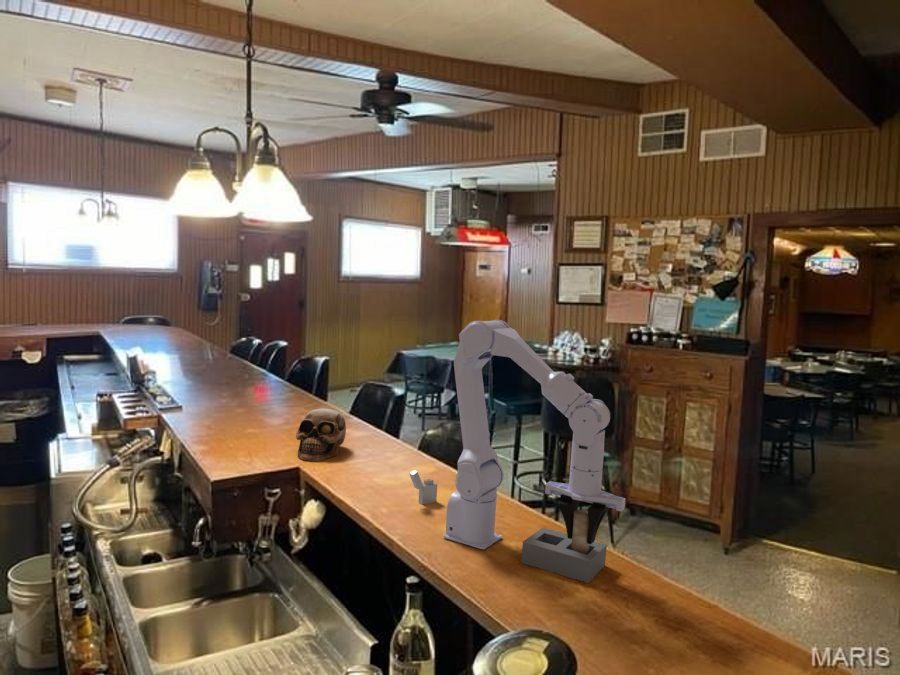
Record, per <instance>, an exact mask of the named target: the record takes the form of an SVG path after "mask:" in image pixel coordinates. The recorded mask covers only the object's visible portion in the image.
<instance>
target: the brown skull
mask: <svg viewBox="0 0 900 675" xmlns="http://www.w3.org/2000/svg"><path fill="white" fill-rule="evenodd" d="M346 425H347V424H346V419H345V417H344V415H343V414H342V413H341V412H340V411H337V410H335V409H331V408H317V409H316V408H315V409H313V410H309V411H308V412H307V413H306V415H305V417H304V418H303V420H302V421H301V422H300V425H299V427H298V428H297V431H296V434H295V439H296V440H297V441H299V447H298V450H297V458H298V459H300V460H301V461H305V462H321V461H324V460H327V459H331V458H332V457H337V455H338V453H339V451H340V447H341V446H342V445H343V444H344V443H345V442H344V441H345V439H346V430H347V426H346Z"/></svg>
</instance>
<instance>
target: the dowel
mask: <svg viewBox="0 0 900 675" xmlns="http://www.w3.org/2000/svg"><path fill="white" fill-rule="evenodd" d="M588 527H589V522H588V510H585V509H578V510H575V511H574V518H573V532H572V546H571V550H573V551H576V552H580V553H584V554H588V553H589V544H587V536H588Z"/></svg>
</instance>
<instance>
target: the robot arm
mask: <svg viewBox="0 0 900 675" xmlns="http://www.w3.org/2000/svg"><path fill="white" fill-rule="evenodd" d="M458 336H459V337H458V338H459V344H458V347H457V349H456V352H455V355H454V356H455V357H454V359H453V369H454V378H455V386H456V395H457V405H458V413H459V421H460V422H459V423H460V431H461V432H460V433H461V439H462V448H463V449H462V452H461V455H460V456H459V458H458V460H457V474H456V476H455V480H454V481H455V482H454V483H455V488H456V490H455V491H453V492H452V493H451V495H450V496H449V498H448V501H447V506H446V519H445V520H446V522H445V533H444V534H443V536H442V537H443V538H444V539H447V540H450V541H453V542H456V543H459V544H463V545H466V546H470V547H472V548H473V547H474V548H475V549H480V550H486V549H487V548H489V547H490V546H491V545H493V544H494V543H496V542H498V541H499V540H500V539H502V538H503V535H502V534H500V533H496V532H495V531H496V530H495V529H496V515H497V514H496V511H497V497H498V493H497V492H498V488H499V487H500V486H501V485H502V484H503V482H504V477H505V476H504V470H503V468H502V466H501V464H500V462H499V460H498V453H497V452H496V450H495V449H494V448H493V447H492V446H491V441H490V440H491V439H490V429H489V421H488V414H487V405H486V404H487V403H486V396H485V386H484V380H483V378H484V377H483V368H484V366H485V365H486V364H487V363H488V362H489V361H490V359H492V358H493V356H498V357H505V358H510V359H511V360H512V361H513V362H514V363H516V365H518V366H519V367H521V369H523V371H525V372H526V373H527V374H528V375H530V376H531V378H533V379H534V380H535V381H536V382H538V383H539V384H540V386H541V388H540V389H541V395H542V396H544V397H545V398H546V399H547V401H549V402H550V403H551V404H552V405H553V406H554V407H555V408H556V409H557V411H559V412H560V413H561V414H562V415H563V416H565V417H566V418H567V419H568V424H569V427H570V429H571V431H572V441H571V455H570V465H569V466H570V469H569V478H568V480H569V481H568V483H563V482H556V481H552V480H550V481H548V482H546V483H545V488H544V489H545V490H544V492H545V493H544V494H545V495H556V496H559V500H557V506H558V508H559V510H560V512H561V515H562V517H563V521H564V525H565V529H566V534H567V537H568V538H569V539H572V532H573V518H574V511H575V510H579V504H580V502H585V503H588V504H592V505H590V506H589V507H587V511H588V522H589V527H588V536H587V544H592V543H593V542H594V541H595V542H596V536H597V534H598V530H599V527H600V525H601V523H602V520H603V519H604V517H605V515H606V514H607V512H608V511H609V509H615V511H616V512H622V511H624V510H625V508H626V498H625V497H622V496H618V495H615V494H612V493H610V492H607V491H605V490H602V481H603V480H602V478H603V468H604V467H603V466H604V457H605V456H604V455H605V439H606V438H605V435H606V434H605V433H606V430H605V428H606V427H608V426H609V423H610V421H611V411H610V409H609V408H608V406H607V405H606V404H605V402H604V401H603V400H601V399H598V398H597V399H596V398H594V395H593V394H591V393H590V392H589V393H587V392H586V391H585V390H584V389H582V387H581V386H579V385H578V384H577V383H576V382H575V381H574V380H575V377H574V375H573V374H571V373H567V374H566V373H565V371H554V370H553V369H552V368H551V367H550V366H549V365H548V364H547V363H546V362H545V360H543V359H542V358H541V356H539V355H538V353H537V352H536V351H534V350H533V349H532V347H530V345H529V344H527V342H526V341H525V340H524V339H523V338H522V337H521V336H520V334H519V333H518V331H517V330H516V329H515V328H512V327H510V325H509V324H508V323H507V322H505V321H504V320H501V319H491V320H474V321H471V322H469V323H468V324H467V325H466V326H464V328H463V329H462V330H461V331H460V332H459V334H458Z"/></svg>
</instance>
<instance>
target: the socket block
mask: <svg viewBox="0 0 900 675" xmlns="http://www.w3.org/2000/svg"><path fill="white" fill-rule="evenodd" d="M571 546H572V539H569V538H568V537H567V533H564V532H561V531H557V530H554V529H550V528H546V527H541V528H539V529H538V530H537V531H536V532H535V533H532V535H530V536H529V537H528V538H526V539H525V540H524V541H522V549H521V550H522V551H521V562H520V563H521V564H524V565H528V566H531V567H534V568H537V567H538V568H537V569H541V570H544V571H546V572H550V573H553V574H557V575H560V576H563V577H567V578H570V579H574V580H576V579H577V581H581V582H583V581H584V582H583V583H587V584H589V583H590V582H591V581H592V580H593V579H594V578H595V577H596V576H597V574H599V572H600V571H602V570H603V569H604V567H605V566H606V560H607V559H606V558H607V547H608V546H607V544H605V543H603V542H602V543H601V542H598V541H596V540H595V541H594V542H593V543H592V544H589V553H588V554H584V553H580V552H576V551H573V550H571Z"/></svg>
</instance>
